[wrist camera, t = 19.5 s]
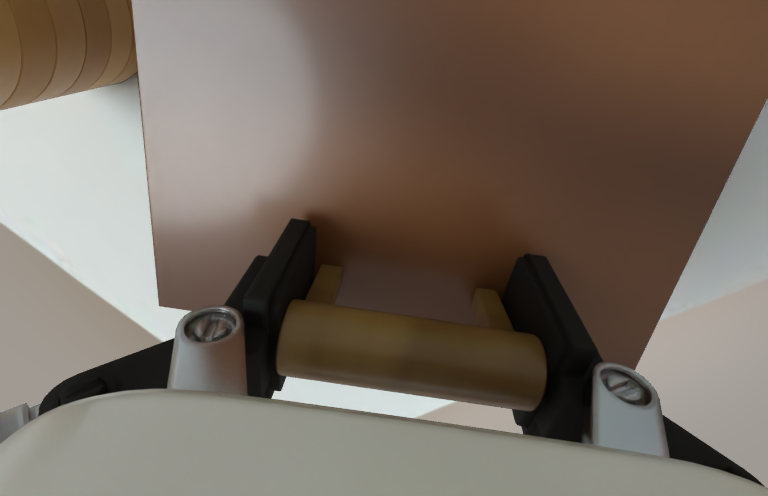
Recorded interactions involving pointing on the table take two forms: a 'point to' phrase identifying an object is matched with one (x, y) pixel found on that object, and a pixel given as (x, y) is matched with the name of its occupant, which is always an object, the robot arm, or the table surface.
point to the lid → (443, 168)
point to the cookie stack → (63, 48)
